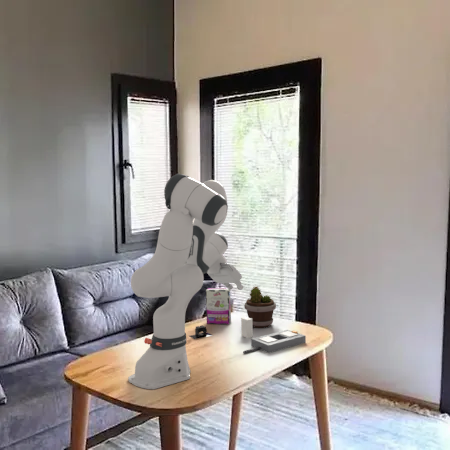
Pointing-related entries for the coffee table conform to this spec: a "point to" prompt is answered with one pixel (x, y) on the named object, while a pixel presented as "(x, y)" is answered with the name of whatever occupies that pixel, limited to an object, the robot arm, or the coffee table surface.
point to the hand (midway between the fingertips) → (236, 288)
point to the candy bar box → (218, 306)
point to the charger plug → (246, 327)
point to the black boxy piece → (200, 335)
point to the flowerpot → (260, 308)
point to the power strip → (277, 341)
